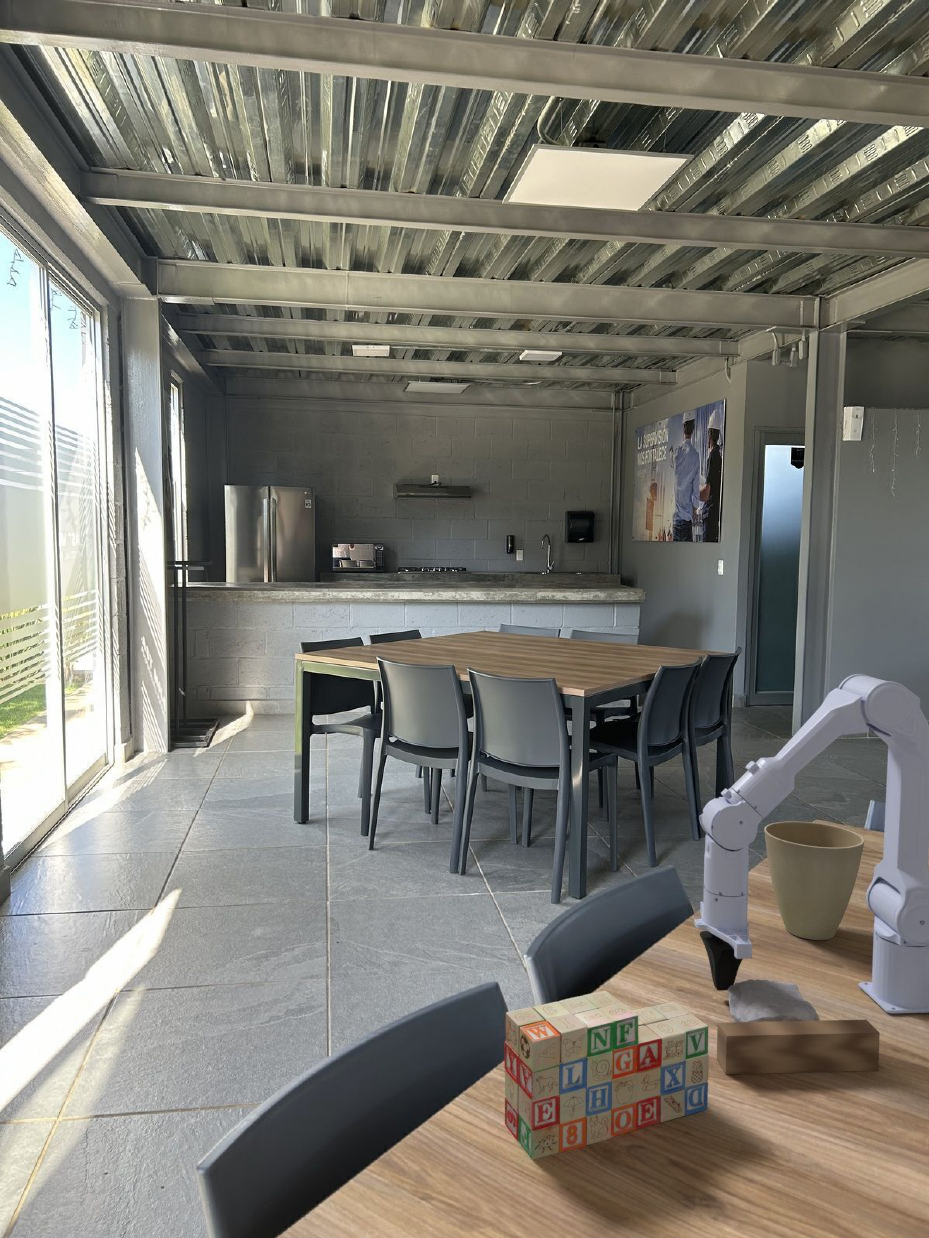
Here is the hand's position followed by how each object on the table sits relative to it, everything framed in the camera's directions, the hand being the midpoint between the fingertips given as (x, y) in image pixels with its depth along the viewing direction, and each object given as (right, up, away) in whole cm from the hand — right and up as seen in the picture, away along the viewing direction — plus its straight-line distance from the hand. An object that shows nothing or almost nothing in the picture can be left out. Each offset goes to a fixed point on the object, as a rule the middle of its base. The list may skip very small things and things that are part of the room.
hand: (723, 988), depth 119 cm
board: (+4, -2, -16) cm, 17 cm away
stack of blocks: (-20, -3, -26) cm, 33 cm away
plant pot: (+21, -1, +23) cm, 31 cm away
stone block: (+4, -2, -6) cm, 8 cm away
